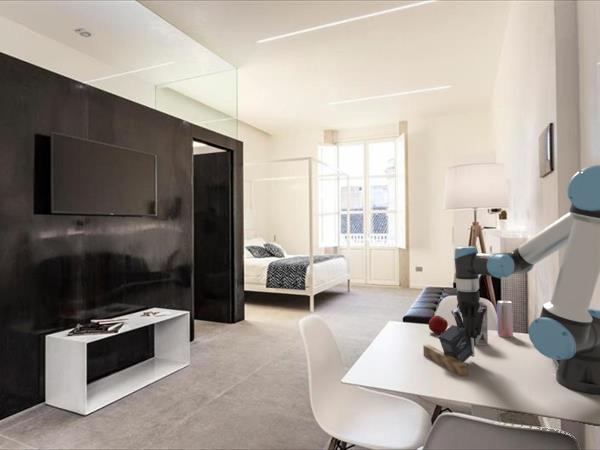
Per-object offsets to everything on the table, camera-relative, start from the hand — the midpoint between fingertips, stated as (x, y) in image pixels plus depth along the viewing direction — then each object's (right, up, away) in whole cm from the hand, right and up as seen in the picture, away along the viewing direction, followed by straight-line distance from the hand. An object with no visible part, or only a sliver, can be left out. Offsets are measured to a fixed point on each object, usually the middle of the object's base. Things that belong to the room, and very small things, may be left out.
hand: (471, 355), depth 136 cm
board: (-11, -2, -3) cm, 12 cm away
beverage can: (+29, -2, +32) cm, 43 cm away
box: (-4, -1, -1) cm, 5 cm away
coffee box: (+13, -2, +23) cm, 26 cm away
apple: (+1, -3, +37) cm, 37 cm away
